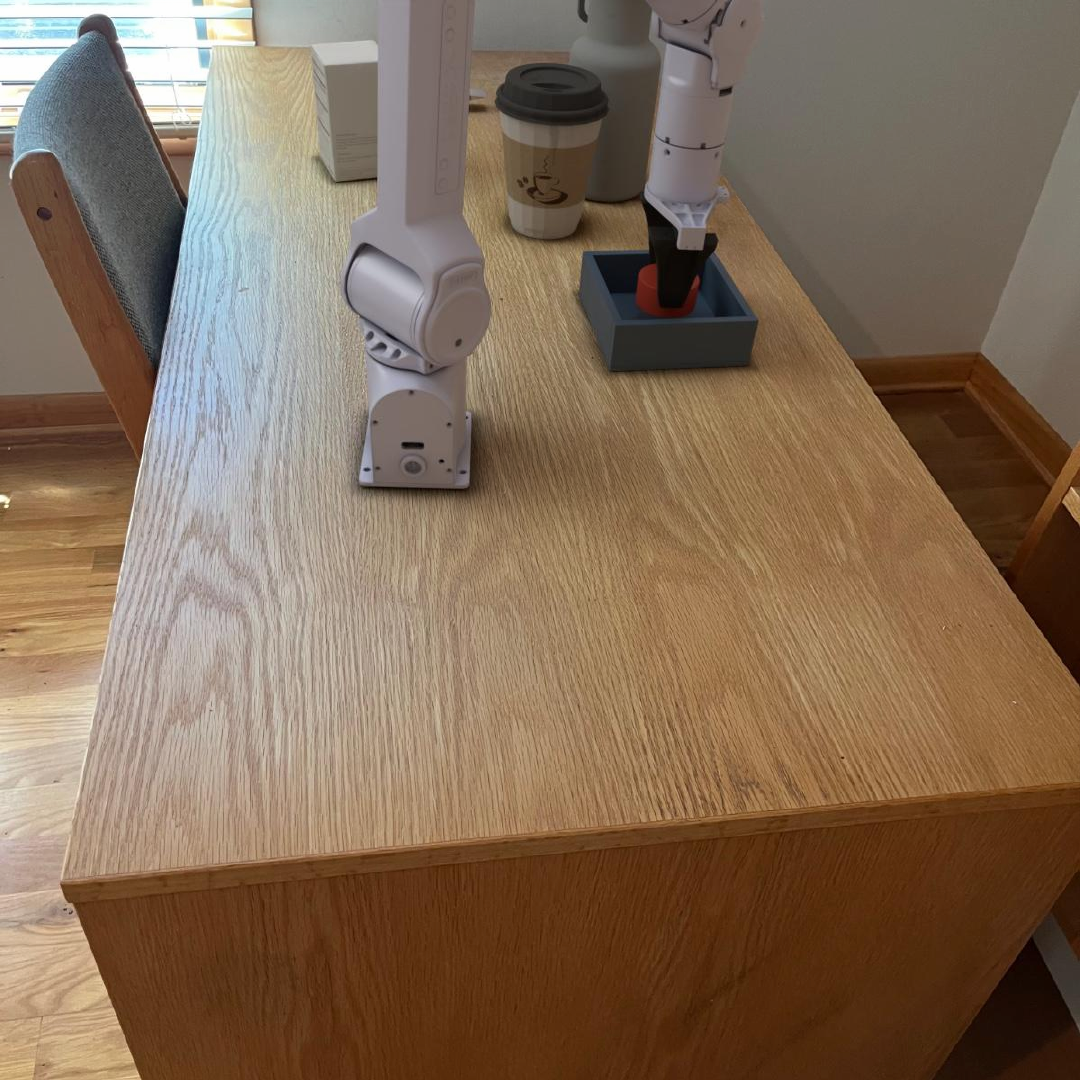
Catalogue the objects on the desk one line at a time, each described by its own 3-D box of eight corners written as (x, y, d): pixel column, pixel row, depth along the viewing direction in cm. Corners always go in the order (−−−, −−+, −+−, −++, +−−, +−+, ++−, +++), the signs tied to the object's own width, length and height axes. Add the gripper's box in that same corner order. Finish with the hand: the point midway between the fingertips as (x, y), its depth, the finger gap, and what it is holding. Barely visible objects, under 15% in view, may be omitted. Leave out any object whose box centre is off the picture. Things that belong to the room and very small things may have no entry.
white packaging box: (380, 152, 121) (375, 38, 113) (397, 177, 116) (393, 59, 108) (318, 158, 119) (308, 41, 111) (333, 183, 114) (323, 63, 105)
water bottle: (548, 170, 120) (567, -108, 102) (627, 166, 123) (659, -106, 104) (573, 206, 113) (598, -86, 94) (656, 201, 115) (696, -84, 97)
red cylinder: (699, 319, 91) (704, 293, 89) (638, 317, 90) (642, 290, 89) (690, 290, 95) (695, 264, 93) (632, 287, 94) (636, 261, 93)
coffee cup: (486, 244, 105) (491, 92, 95) (494, 198, 113) (498, 55, 103) (597, 252, 105) (613, 101, 95) (596, 206, 113) (610, 63, 104)
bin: (748, 365, 90) (759, 320, 87) (609, 371, 88) (615, 325, 85) (704, 291, 100) (712, 247, 97) (578, 294, 98) (582, 250, 95)
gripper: (755, 174, 77) (723, 332, 86) (724, 107, 88) (698, 254, 97) (663, 170, 77) (640, 329, 86) (642, 103, 88) (624, 251, 97)
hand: (666, 289), depth 91 cm, fingers closed on red cylinder, 5 cm apart
